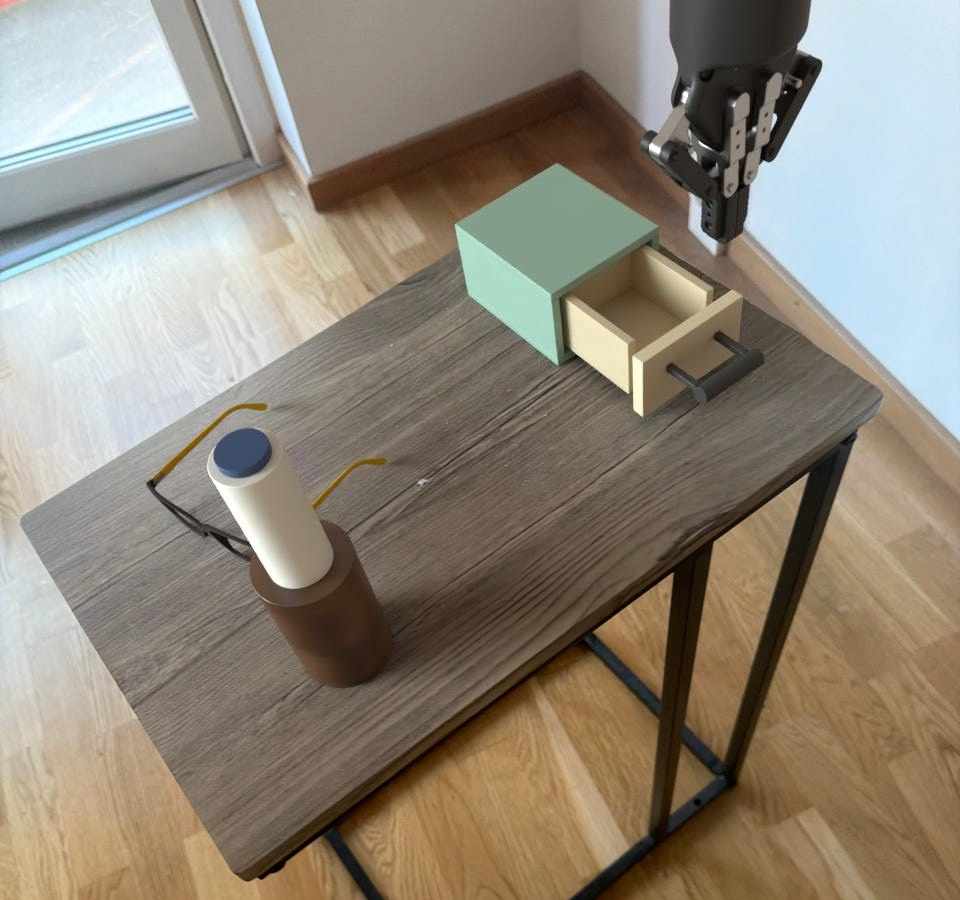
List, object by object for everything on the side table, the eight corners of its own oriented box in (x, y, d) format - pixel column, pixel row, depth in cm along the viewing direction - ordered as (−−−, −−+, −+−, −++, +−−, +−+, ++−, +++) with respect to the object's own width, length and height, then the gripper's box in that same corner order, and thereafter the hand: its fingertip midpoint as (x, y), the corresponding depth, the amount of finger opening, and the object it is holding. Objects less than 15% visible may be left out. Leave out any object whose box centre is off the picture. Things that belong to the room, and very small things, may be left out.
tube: (333, 529, 61) (279, 413, 52) (334, 583, 59) (278, 472, 50) (269, 540, 62) (204, 427, 53) (267, 594, 59) (199, 486, 50)
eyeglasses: (157, 519, 79) (135, 489, 76) (267, 407, 84) (251, 374, 81) (278, 587, 74) (261, 557, 70) (388, 462, 79) (377, 429, 75)
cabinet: (658, 300, 84) (659, 225, 77) (558, 366, 82) (550, 295, 75) (563, 236, 91) (557, 162, 84) (468, 295, 88) (454, 223, 82)
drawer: (779, 381, 76) (789, 324, 71) (683, 449, 73) (686, 395, 69) (637, 284, 84) (636, 227, 79) (547, 343, 82) (541, 288, 77)
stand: (390, 600, 71) (352, 510, 62) (394, 680, 68) (354, 596, 58) (302, 615, 72) (250, 528, 63) (301, 695, 68) (246, 614, 59)
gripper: (698, 19, 45) (688, 309, 60) (892, -94, 48) (836, 210, 62) (598, -25, 49) (611, 258, 64) (783, -128, 52) (754, 167, 66)
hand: (723, 234), depth 63 cm, fingers closed
